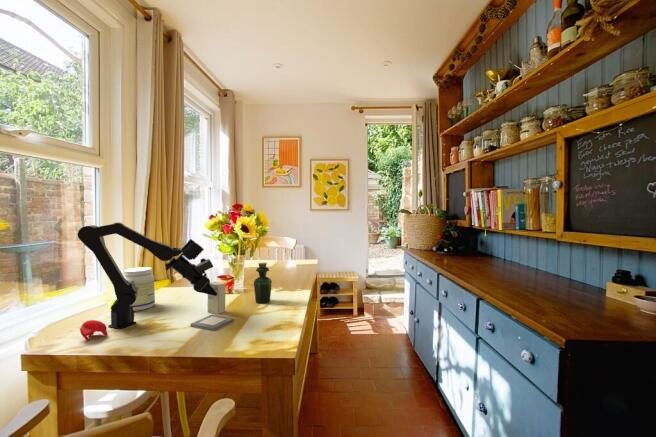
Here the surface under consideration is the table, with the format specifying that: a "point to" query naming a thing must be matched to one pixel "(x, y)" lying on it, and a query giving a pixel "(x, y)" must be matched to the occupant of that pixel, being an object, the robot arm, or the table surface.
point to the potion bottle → (262, 285)
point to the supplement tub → (142, 286)
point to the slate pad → (212, 322)
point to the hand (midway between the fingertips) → (215, 292)
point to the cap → (92, 328)
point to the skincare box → (217, 298)
